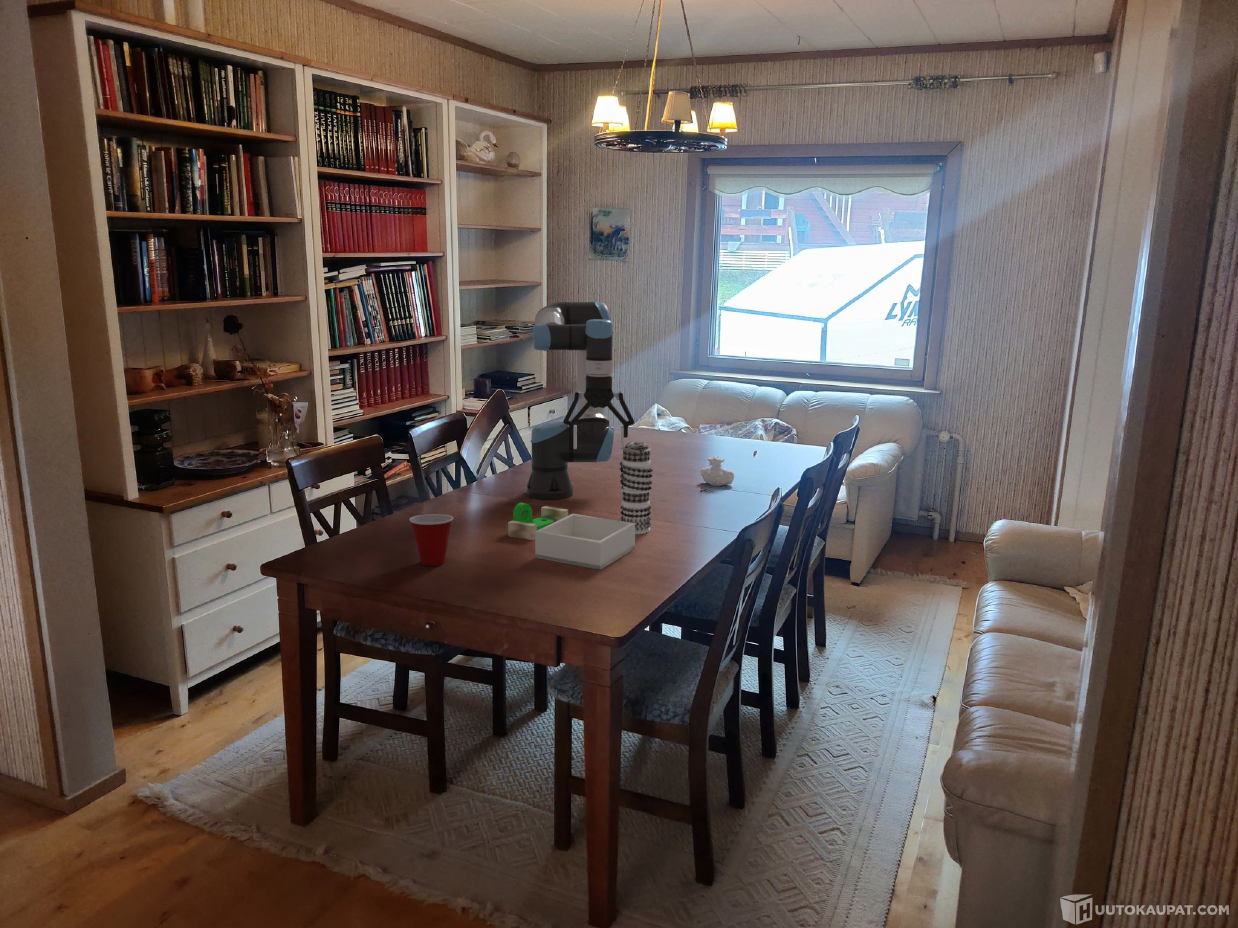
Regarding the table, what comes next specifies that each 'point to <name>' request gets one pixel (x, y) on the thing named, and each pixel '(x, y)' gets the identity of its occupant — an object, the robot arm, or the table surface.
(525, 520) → the mechanical part
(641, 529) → the decorative candle
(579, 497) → the table surface
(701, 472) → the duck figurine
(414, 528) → the plastic cup
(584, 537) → the bin
